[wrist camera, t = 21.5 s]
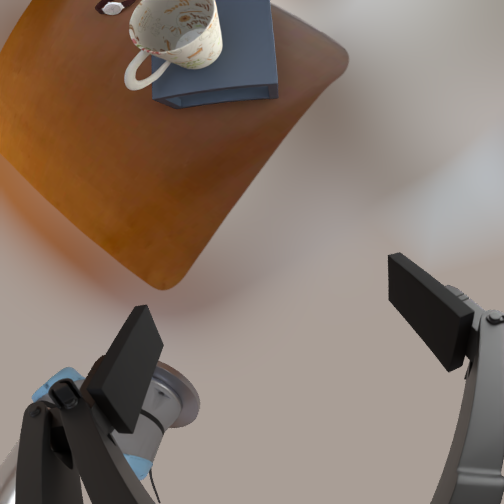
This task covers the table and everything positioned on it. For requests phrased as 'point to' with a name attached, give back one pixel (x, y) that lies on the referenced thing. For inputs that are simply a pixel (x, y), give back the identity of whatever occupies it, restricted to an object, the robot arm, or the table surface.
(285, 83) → the table surface
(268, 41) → the shelf
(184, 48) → the mug
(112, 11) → the watch
